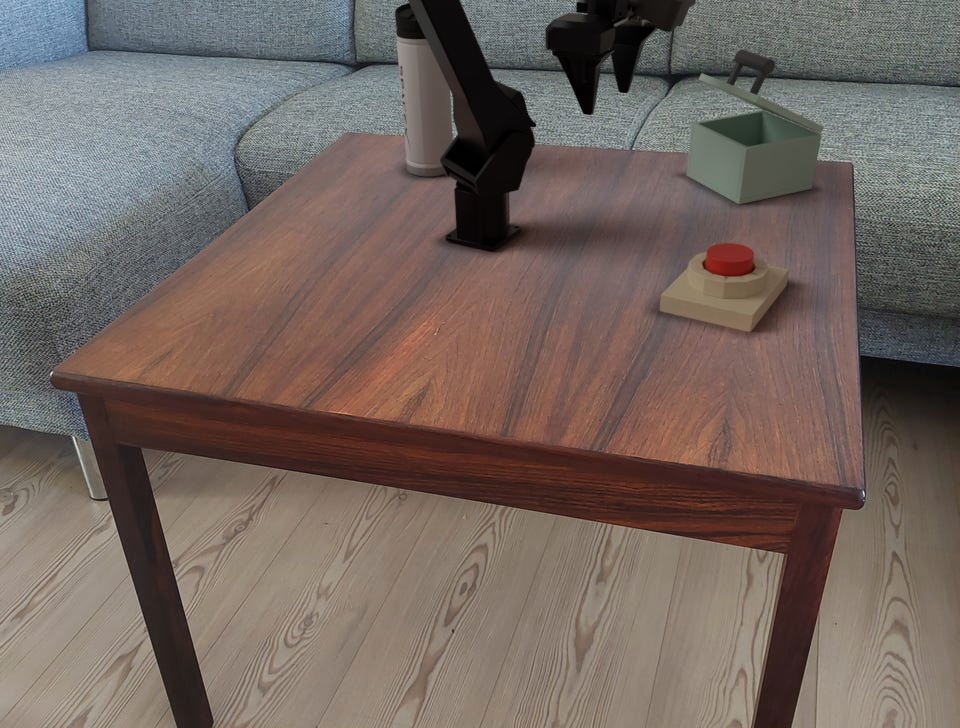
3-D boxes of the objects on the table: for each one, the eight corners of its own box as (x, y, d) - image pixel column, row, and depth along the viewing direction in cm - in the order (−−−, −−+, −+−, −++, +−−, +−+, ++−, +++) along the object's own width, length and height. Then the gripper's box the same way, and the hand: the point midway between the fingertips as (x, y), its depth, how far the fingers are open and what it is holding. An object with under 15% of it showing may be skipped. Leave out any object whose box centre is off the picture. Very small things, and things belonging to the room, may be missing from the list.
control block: (750, 332, 86) (755, 298, 84) (659, 311, 90) (662, 277, 88) (786, 285, 93) (792, 252, 91) (700, 267, 97) (704, 236, 95)
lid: (755, 103, 104) (777, 59, 102) (698, 79, 112) (717, 38, 110) (821, 133, 110) (842, 92, 108) (762, 109, 118) (781, 71, 116)
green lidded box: (738, 204, 110) (746, 148, 106) (685, 175, 119) (691, 122, 115) (811, 189, 114) (822, 134, 110) (755, 161, 122) (763, 109, 118)
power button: (742, 282, 87) (745, 265, 86) (697, 273, 89) (699, 256, 88) (757, 264, 90) (760, 248, 89) (714, 256, 92) (716, 239, 91)
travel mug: (458, 160, 126) (451, -3, 114) (449, 177, 121) (439, 9, 109) (413, 159, 127) (401, -2, 115) (402, 176, 122) (388, 9, 110)
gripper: (650, -37, 85) (638, 137, 94) (722, -66, 97) (705, 90, 107) (543, -43, 90) (542, 122, 99) (624, -70, 102) (616, 79, 112)
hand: (606, 103), depth 104 cm, fingers open, 9 cm apart
